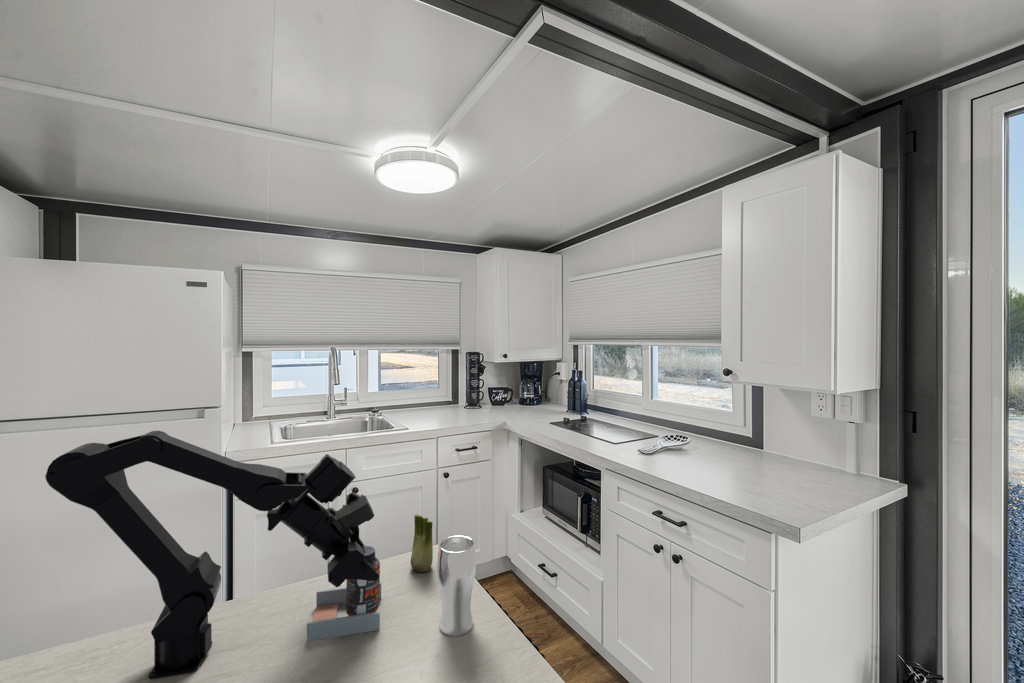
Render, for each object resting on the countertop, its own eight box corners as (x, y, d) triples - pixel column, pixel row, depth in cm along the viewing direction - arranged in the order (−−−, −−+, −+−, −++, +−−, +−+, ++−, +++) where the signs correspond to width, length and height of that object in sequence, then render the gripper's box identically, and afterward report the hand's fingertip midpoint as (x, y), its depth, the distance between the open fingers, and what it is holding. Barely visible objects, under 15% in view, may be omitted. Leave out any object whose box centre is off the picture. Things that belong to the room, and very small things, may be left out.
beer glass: (480, 616, 82) (480, 537, 82) (468, 641, 76) (468, 555, 75) (445, 610, 84) (446, 533, 84) (430, 634, 77) (431, 550, 77)
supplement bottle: (368, 622, 79) (369, 560, 78) (339, 617, 80) (340, 556, 80) (385, 602, 84) (386, 545, 84) (357, 598, 86) (358, 541, 85)
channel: (306, 641, 75) (306, 624, 75) (316, 606, 85) (316, 591, 85) (379, 629, 78) (379, 613, 78) (381, 597, 88) (381, 582, 88)
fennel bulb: (435, 573, 97) (435, 519, 97) (412, 577, 95) (413, 523, 95) (429, 560, 102) (430, 510, 102) (408, 564, 101) (408, 513, 100)
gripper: (351, 504, 72) (417, 557, 77) (343, 471, 89) (397, 516, 94) (297, 560, 69) (369, 612, 74) (299, 515, 86) (358, 560, 91)
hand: (375, 570), depth 83 cm, fingers closed on supplement bottle, 6 cm apart
